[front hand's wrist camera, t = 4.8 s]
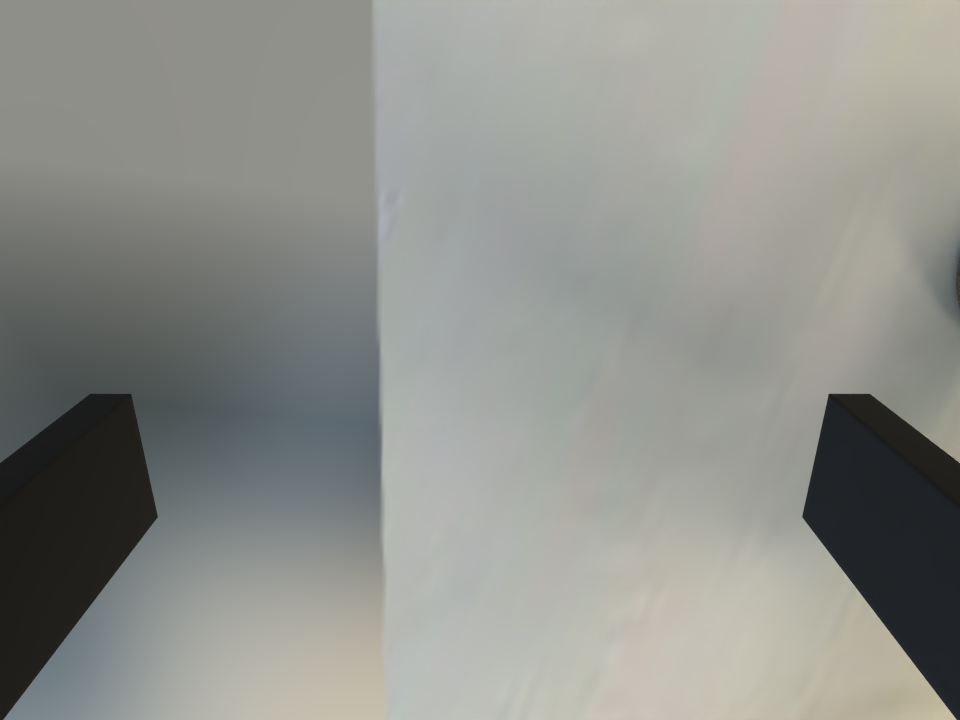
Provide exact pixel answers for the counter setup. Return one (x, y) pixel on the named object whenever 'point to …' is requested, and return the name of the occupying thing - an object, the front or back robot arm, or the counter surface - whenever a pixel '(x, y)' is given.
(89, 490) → the front robot arm
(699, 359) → the counter surface
